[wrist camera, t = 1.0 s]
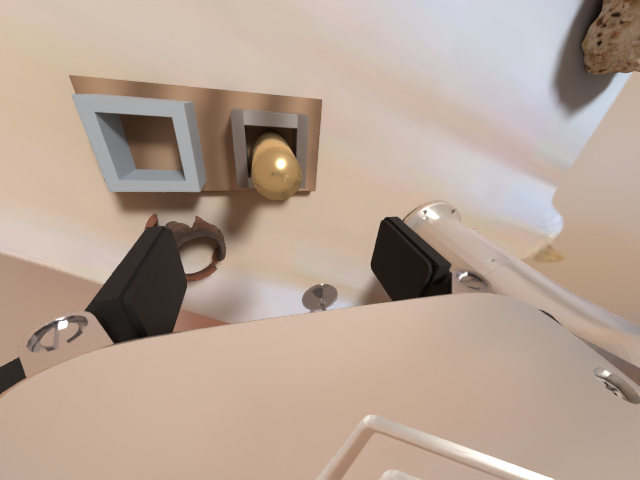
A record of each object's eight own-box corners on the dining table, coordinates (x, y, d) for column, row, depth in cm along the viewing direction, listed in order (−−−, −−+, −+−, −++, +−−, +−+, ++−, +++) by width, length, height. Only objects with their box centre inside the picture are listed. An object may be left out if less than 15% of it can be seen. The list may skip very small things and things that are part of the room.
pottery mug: (154, 190, 30) (175, 216, 25) (219, 213, 38) (245, 236, 33) (115, 270, 31) (129, 308, 27) (186, 276, 39) (206, 307, 34)
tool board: (319, 99, 28) (329, 100, 24) (313, 187, 34) (320, 200, 30) (79, 76, 23) (39, 72, 19) (119, 186, 28) (96, 202, 24)
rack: (193, 101, 25) (183, 103, 21) (206, 180, 29) (200, 191, 26) (97, 93, 23) (70, 94, 19) (127, 179, 27) (109, 191, 24)
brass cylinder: (287, 130, 28) (303, 151, 18) (286, 164, 30) (301, 200, 20) (252, 128, 27) (249, 149, 17) (254, 163, 29) (253, 200, 19)
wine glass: (296, 289, 44) (311, 367, 31) (336, 277, 45) (367, 349, 32) (304, 316, 48) (321, 393, 36) (341, 305, 49) (370, 377, 37)
